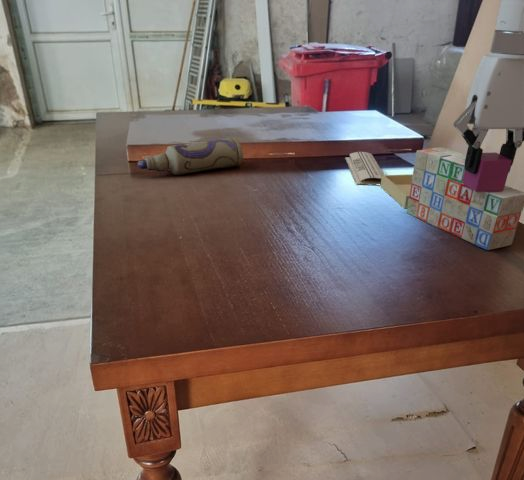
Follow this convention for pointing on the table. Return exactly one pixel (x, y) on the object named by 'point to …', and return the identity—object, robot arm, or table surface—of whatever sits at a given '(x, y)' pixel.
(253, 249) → the table surface
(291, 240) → the table surface
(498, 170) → the mulberry block
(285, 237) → the table surface
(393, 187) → the tray
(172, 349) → the table surface
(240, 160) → the decorative bottle
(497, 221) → the stack of blocks
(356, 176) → the newspaper
